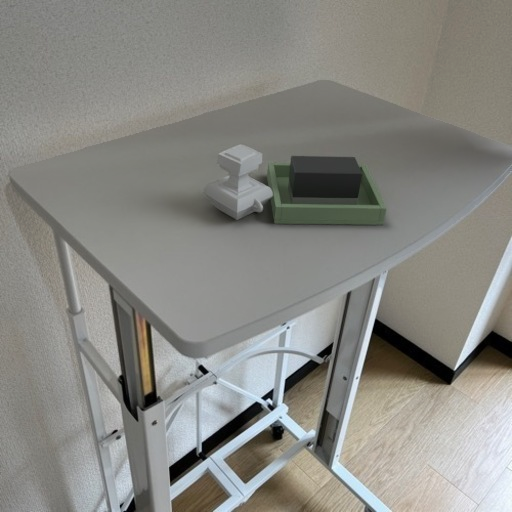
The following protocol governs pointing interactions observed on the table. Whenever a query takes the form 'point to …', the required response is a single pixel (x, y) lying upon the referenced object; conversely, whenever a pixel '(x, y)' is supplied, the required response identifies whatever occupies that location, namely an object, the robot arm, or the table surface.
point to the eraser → (324, 180)
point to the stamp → (238, 183)
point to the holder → (285, 212)
